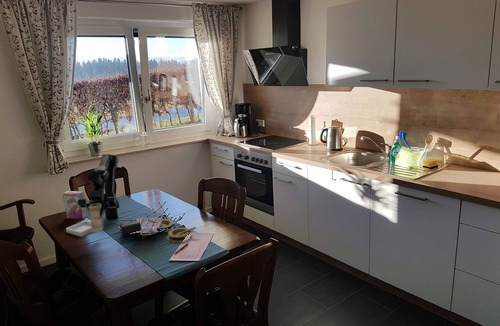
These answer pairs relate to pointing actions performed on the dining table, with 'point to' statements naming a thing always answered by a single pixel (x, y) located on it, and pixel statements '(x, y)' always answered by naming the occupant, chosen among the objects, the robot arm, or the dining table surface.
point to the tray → (80, 228)
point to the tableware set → (174, 231)
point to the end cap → (130, 228)
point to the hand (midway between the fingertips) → (95, 217)
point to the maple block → (96, 217)
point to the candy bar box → (74, 205)
